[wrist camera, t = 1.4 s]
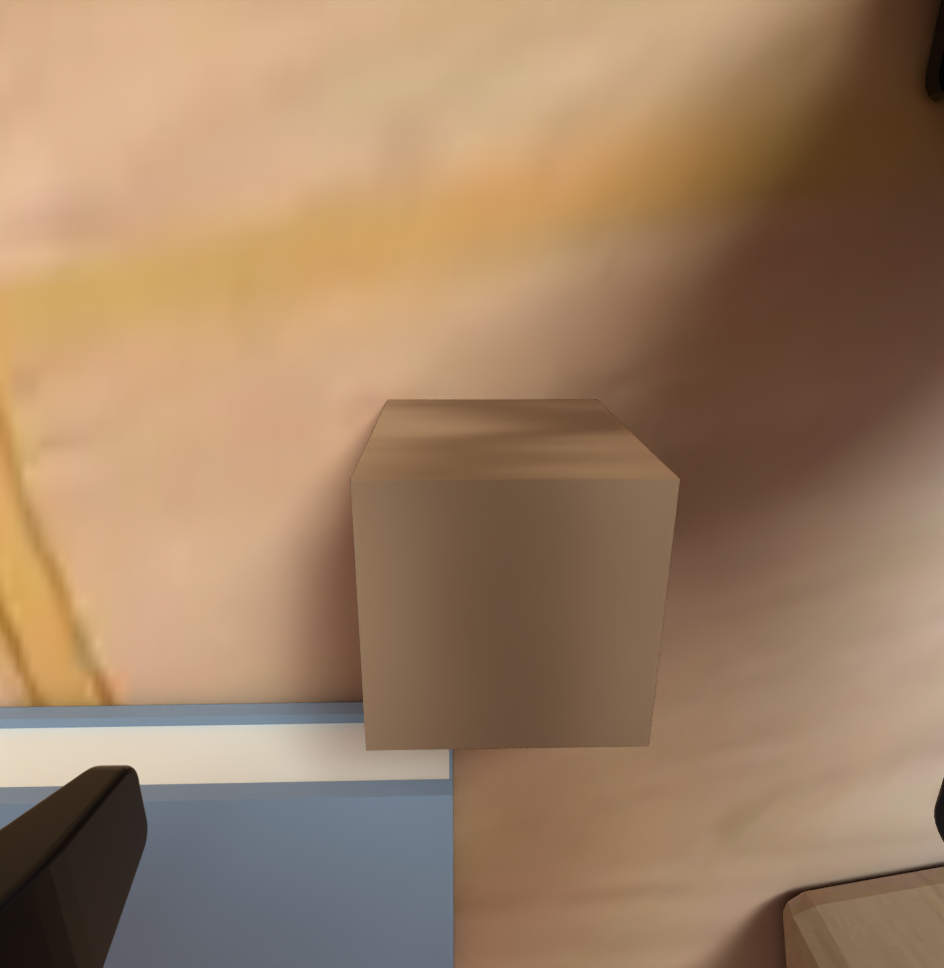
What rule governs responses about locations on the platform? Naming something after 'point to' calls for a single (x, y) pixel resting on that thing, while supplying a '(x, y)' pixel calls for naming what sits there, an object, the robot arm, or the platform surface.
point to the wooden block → (869, 924)
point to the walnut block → (509, 575)
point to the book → (259, 832)
